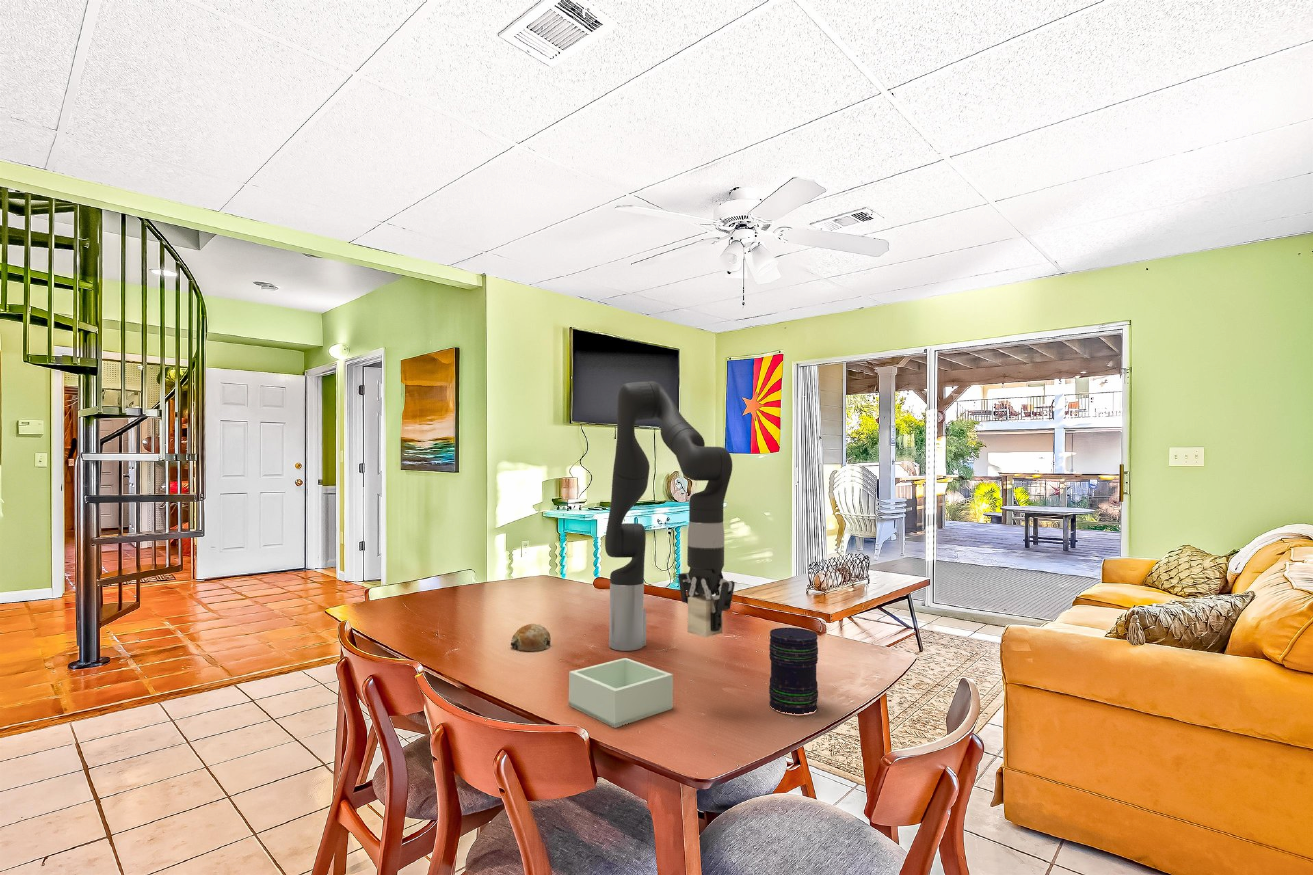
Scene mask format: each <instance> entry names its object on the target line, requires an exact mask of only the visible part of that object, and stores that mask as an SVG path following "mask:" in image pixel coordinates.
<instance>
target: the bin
mask: <svg viewBox="0 0 1313 875" xmlns="http://www.w3.org/2000/svg"><path fill="white" fill-rule="evenodd" d="M673 693H674V674H673V673H670V672H667V671H664V670H662V669H658V668H656V667H653V666H651V665H647V664H644V663H642V662H639V661H636V660H633V659H630V658H627V657H623V658H620V659H616V660H611V661H607V662H604V663H603V662H602V663H599V664H596V665H591V666H587V667H584V668H583V667H582V668H579V669H575V670H570V671H568V706H569V707H571V708H573V709H575V710H577V711H579V712H581V713H582V714H585V715H587V716H589V717H591V718H594V719H595V720H598V721H599V722H602V723H603V724H605V725H607V726H610V727H612V728H613V727H614V728H613V729H616V728H619V727H622V725H623V726H626V725H629V724H630V723H631V724H632V723H634V722H638V721H641V720H643V719H646V718H649V717H652V716H655V715H658V714H661V713H664V712H666V711H670V710H673V708H674V707H673V704H674V703H673V700H674V699H673V697H674V694H673ZM628 723H629V724H628ZM625 724H626V725H625Z"/></svg>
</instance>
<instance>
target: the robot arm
mask: <svg viewBox="0 0 1313 875" xmlns="http://www.w3.org/2000/svg"><path fill="white" fill-rule="evenodd" d="M616 411H617V412H616V413H617V414H616V416H617V419H616V420H617V422H616V424H617V425H616V445H615V446H616V447H615V457H614V462H613V469H612V470H613V471H612V479H611V480H612V483H611V497H610V506H609V512H608V513H609V514H608V519H607V523H606V524H607V525H606V529H605V530H606V531H605V540H604V548H605V553H606V554H607V556H609V557H611V558H614V559H615V558H622V559H623V558H624V559H625V558H631V560H630V561H629V562H628V563H627V564H625V565H624V566H622V567H620V568H616V569H614V570H612V571H611V573H610V577H609V623H608V624H609V626H608V627H609V630H608V636H609V638H608V639H609V640H608V647H609V648H610V649H612V650H615V651H619V652H620V651H621V652H622V651H624V652H630V651H636V650H640V649H642V648H643V647H644V646H645V647H646V646H647V610H646V609H644V607H645V606H644V605H645V604H644V600H645V596H644V595H645V594H644V593H645V591H644V590H645V556H646V544H647V542H646V539H647V536H646V529H645V526H644V525H643V524H642V523H638V522H637V523H636V522H635V523H634V522H631V523H628V522H627V523H623V521H624V519H625V517H626V515H627V514H628V512H629V511H630V510H631V509H632V508H633V507H634V506H635V504H636V503H637V502H639V500H640V499H641V498H642V496H644V494H645V492H646V491H647V487H648V484H649V483H648V482H649V477H650V476H649V475H650V461H649V458H648V457H647V454H646V453H645V451H644V450H643V449H642V447H641V445H640V443H639V442H638V439H637V437H636V433H635V432H636V431H635V425H636V422H637V421H644V420H651V419H652V420H653V419H659V420H660V421H661V424H660V437H661V440H662V441H663V443H664V444H665V445H666V447H667V448H668V449H669V450H670V451H671V452H672V453H673V454H674V455H675V457H676V460H677V462H678V464H679V465H678V466H679V468H680V471H681V473H682V475H683V476H685V477H686V478H687V479H689V480H690V481H691V480H692V481H694V482H695V481H697V482H699V481H700V482H701V481H702V482H703V481H704V482H705V481H707V483H706V486H705V488H704V489H703V490H701V491H699V492H694V493H693V494H691V496H690V497H689V503H688V510H689V512H688V513H689V516H688V521H689V522H688V528H687V553H686V554H687V557H686V558H687V560H686V561H687V562H686V563H687V564H686V565H687V566H688V568H689V570H688V572H683V573H679V574H678V576H677V577H678V578H677V579H678V584H679V586H678V587H679V591H680V592H679V593H680V597H681V598H680V599H681V602H682V603H686V604H687V605H688V597H697V596H702V595H706V600H707V601H710V609H711V612H712V613H711V631H714V632H715V631H719V630H720V628H721V626H722V627H723V625H722V621H721V620H722V611H723V612H724V611H727V610H730V609H731V606H732V601H733V600H732V599H733V596H734V595H733V594H734V590H735V581H734V580H727V579H725V578H724V576H723V569H724V566H725V526H724V503H725V498H726V496H727V495H726V494H727V491H728V487H729V484H730V480H731V476H732V472H733V459H732V456H731V454H730V452H729V451H728V450H727V449H726V447H723V446H722V447H721V446H706V445H705V443H706V442H705V439H704V437H703V436H702V434H700V432H699V431H698V430H697V429H696V428H694V427H693V426H692V425H691V423H689V421H687V420H686V419H685V418H684V416H683V415H682V414H681V412H680V411H679V409H678V408H677V406H676V404H675V403H674V401H673V400H672V398H671V397H670V395H669V394H668V392H667V391H666V389H665V387H663V385H661V384H660V383H659V382H657V381H653V380H652V381H650V380H649V381H646V380H645V381H636V382H626V383H623V384H622V385H621V386H620V389H619V391H618V395H617V408H616ZM715 600H717V606H716V604H715Z"/></svg>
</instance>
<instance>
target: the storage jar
mask: <svg viewBox="0 0 1313 875" xmlns="http://www.w3.org/2000/svg"><path fill="white" fill-rule="evenodd" d="M769 637H770V638H769V645H768V646H769V648H768V650H769V660H770V677H769V686H768V693H769V707H770V706H771V707H772V708H774V709H775V710H778V711H780V712H785V713H786V712H787V713H792V714H794V713H795V714H804V713H809V712H814V711H815V710H816V709H817V710H818V704H817V703H818V698H819V690H818V680H817V664H818V660H819V656H818V654H819V647H818V638H819V637H818V633H817V632H815V631H813V630H810V629H806V628H799V627H777V628H773V629H771V630H770V631H769Z"/></svg>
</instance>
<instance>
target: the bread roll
mask: <svg viewBox="0 0 1313 875" xmlns="http://www.w3.org/2000/svg"><path fill="white" fill-rule="evenodd" d="M550 645H551V634H550V632H549V630H548V629H547V628H546V627H545V626H542V625H541V624H540V623H528V624H526V625H522V627H520V628H519V629H517V630H516V632H514V634H513V635H512V637H511V642H510V646H511V647H513V649H514V650H516V649H517V650H516V651H519V652H527V653H529V652H541V651H544V650H549V648H550Z"/></svg>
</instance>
